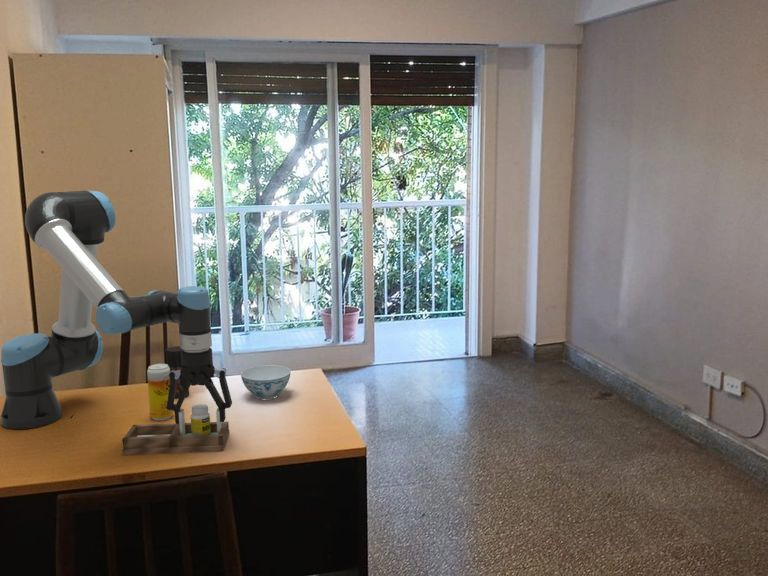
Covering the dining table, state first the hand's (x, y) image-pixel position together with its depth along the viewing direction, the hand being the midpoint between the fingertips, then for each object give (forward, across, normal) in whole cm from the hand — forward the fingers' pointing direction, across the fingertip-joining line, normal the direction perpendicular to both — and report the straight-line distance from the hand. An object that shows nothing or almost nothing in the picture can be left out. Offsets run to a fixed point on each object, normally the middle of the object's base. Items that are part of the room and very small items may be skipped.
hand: (201, 434), depth 171 cm
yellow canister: (+3, -14, +19) cm, 24 cm away
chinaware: (+3, +14, +34) cm, 37 cm away
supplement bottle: (+1, 0, 0) cm, 1 cm away
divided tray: (+2, -6, 0) cm, 6 cm away
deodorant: (+3, -14, +37) cm, 39 cm away
